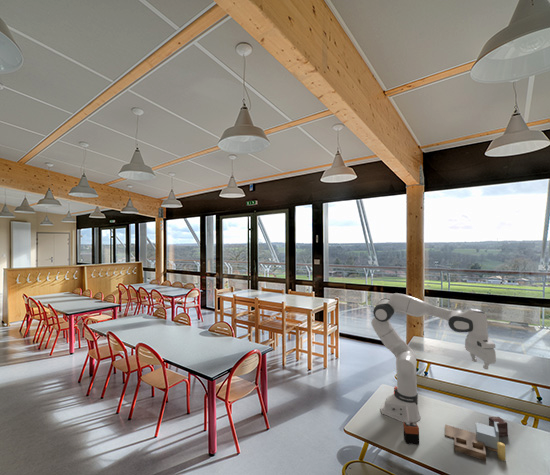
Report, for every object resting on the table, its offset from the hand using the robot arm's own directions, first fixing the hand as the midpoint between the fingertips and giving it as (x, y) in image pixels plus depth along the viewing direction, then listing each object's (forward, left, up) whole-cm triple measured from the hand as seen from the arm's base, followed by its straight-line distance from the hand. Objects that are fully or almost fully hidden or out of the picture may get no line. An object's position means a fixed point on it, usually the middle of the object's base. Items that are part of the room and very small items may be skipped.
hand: (479, 365), depth 152 cm
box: (+8, +10, -40) cm, 42 cm away
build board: (-6, -13, -40) cm, 42 cm away
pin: (+7, -12, -40) cm, 42 cm away
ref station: (-5, -3, -40) cm, 40 cm away
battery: (-32, -22, -40) cm, 56 cm away
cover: (+2, -3, -38) cm, 39 cm away
